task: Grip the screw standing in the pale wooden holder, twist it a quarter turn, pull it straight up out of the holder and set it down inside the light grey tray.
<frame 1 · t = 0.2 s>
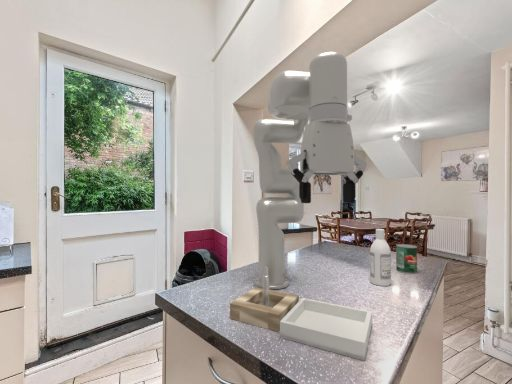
hand: (327, 202, 53), 31 cm above the counter, tool pointing down, fingers open, 9 cm apart
bath foam: (380, 283, 97), on the counter
screw: (265, 314, 71), resting in holder
canned tomato: (406, 271, 113), on the counter
tray: (327, 331, 62), on the counter
holder: (265, 313, 71), on the counter
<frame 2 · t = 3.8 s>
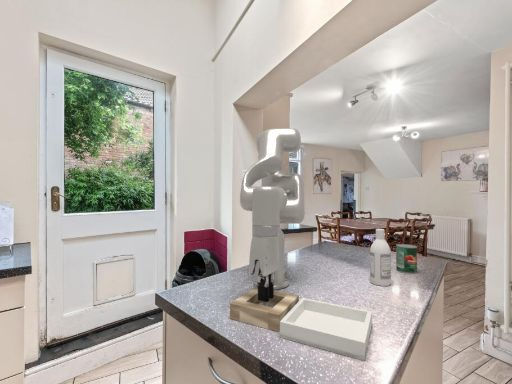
hand: (265, 298, 71), 4 cm above the counter, tool pointing down, fingers closed on screw, 2 cm apart
screw: (265, 314, 71), resting in holder, touching gripper
everything else where it was.
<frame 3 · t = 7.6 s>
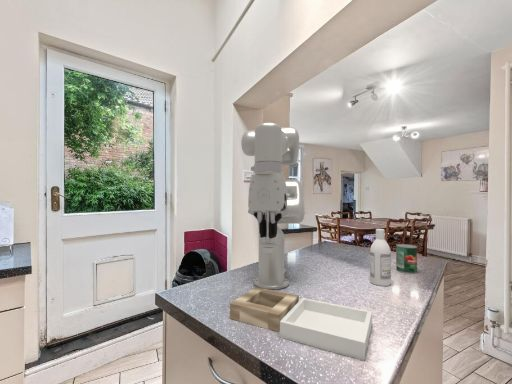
hand: (268, 236, 71), 21 cm above the counter, tool pointing down, fingers closed on screw
screw: (268, 252, 71), point 17 cm above the counter, touching gripper
everything else where it was.
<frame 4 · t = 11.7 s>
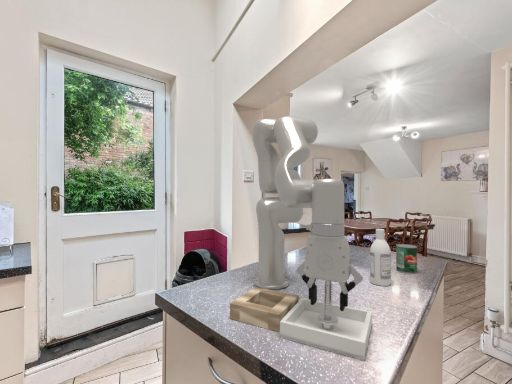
hand: (327, 305, 62), 6 cm above the counter, tool pointing down, fingers open, 6 cm apart
screw: (327, 327, 63), point 1 cm above the counter, touching tray
everything else where it was.
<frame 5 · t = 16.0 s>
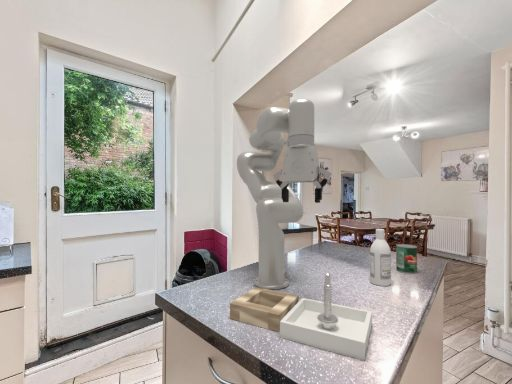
hand: (301, 202, 76), 30 cm above the counter, tool pointing down, fingers open, 9 cm apart
nothing on the counter moved.
at the end: screw inside the target area on the tray (0.2 cm from its centre), point 0.6 cm above the tray's base; screw moved 16.9 cm from its start; the gripper is holding nothing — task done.
